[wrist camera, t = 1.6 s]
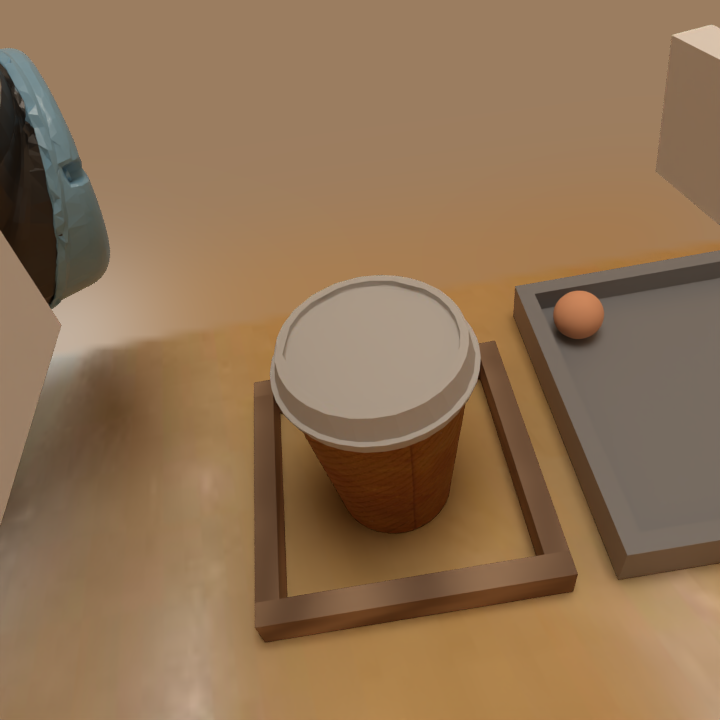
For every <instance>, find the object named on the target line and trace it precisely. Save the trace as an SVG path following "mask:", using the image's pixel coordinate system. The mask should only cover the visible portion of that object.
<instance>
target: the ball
mask: <svg viewBox="0 0 720 720" xmlns="http://www.w3.org/2000/svg"><path fill="white" fill-rule="evenodd" d="M553 318H554V323H555V325H556V327H557V329H558V330H559V331H560V332H561V333H562V334H563V335H565V336H567V337H569V338H573V339H583V338H587V337H589V336H591V335H593V334H594V333H596V332H597V331H598V330H599V328H600V327H601V325H602V323H603V320H604V309H603V306H602V304H601V302H600V300H599V299H598V298H597V297H596V296H594V295H593V294H591V293H589V292H586V291H572V292H569V293H567V294H565V295H564V296H563V297H561V298H560V299H559V300H558V302H557V303H556V305H555V308H554V312H553Z"/></svg>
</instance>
